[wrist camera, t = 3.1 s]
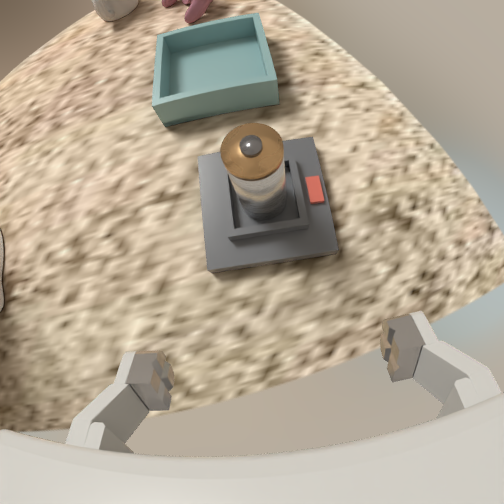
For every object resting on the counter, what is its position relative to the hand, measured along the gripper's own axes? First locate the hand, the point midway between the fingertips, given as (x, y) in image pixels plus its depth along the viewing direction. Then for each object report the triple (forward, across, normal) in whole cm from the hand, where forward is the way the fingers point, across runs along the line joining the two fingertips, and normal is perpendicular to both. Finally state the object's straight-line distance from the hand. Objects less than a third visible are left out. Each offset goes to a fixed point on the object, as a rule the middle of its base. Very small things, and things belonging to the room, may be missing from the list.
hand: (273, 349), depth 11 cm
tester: (+20, 0, +3) cm, 20 cm away
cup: (+49, +19, -26) cm, 59 cm away
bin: (+32, +3, -9) cm, 33 cm away
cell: (+18, 0, +2) cm, 19 cm away
